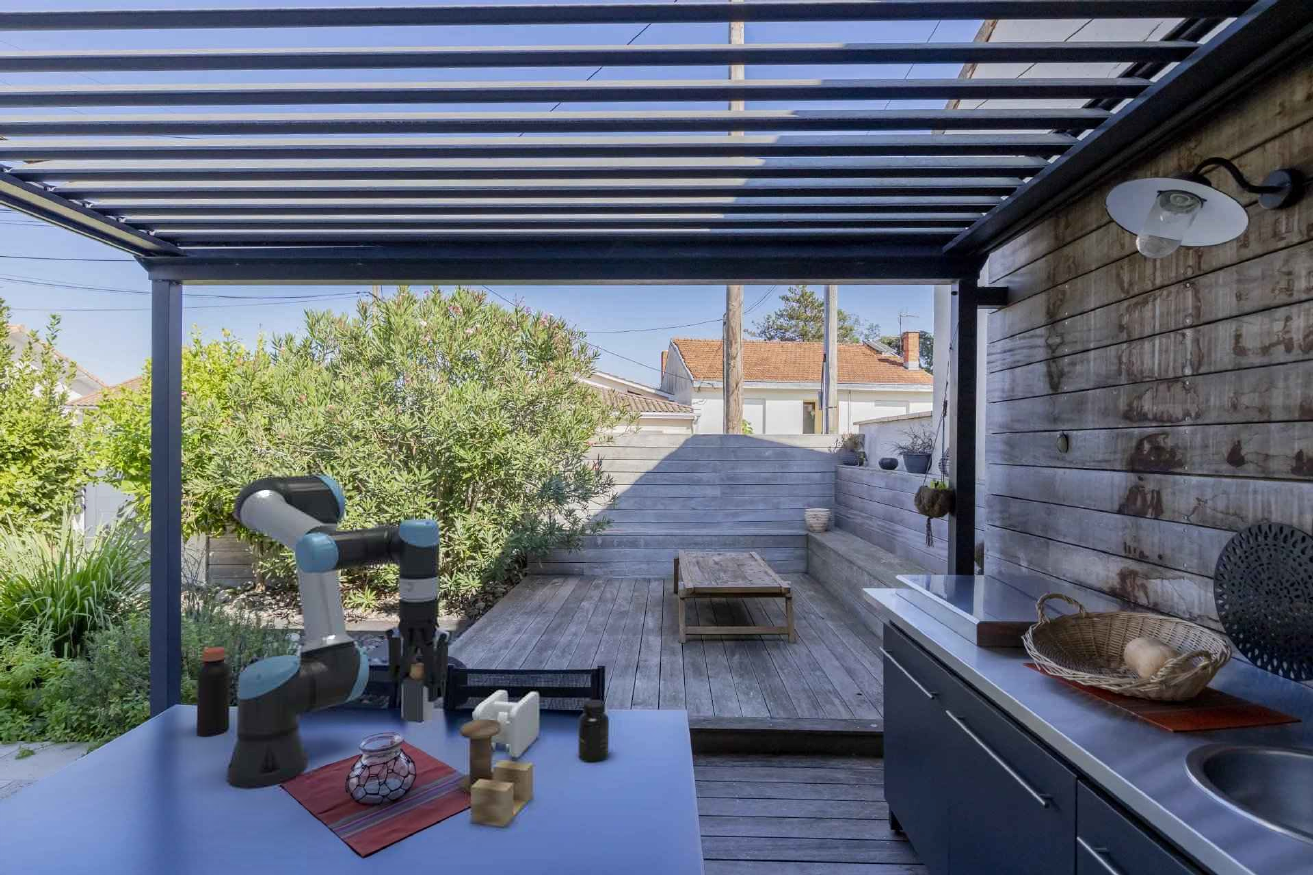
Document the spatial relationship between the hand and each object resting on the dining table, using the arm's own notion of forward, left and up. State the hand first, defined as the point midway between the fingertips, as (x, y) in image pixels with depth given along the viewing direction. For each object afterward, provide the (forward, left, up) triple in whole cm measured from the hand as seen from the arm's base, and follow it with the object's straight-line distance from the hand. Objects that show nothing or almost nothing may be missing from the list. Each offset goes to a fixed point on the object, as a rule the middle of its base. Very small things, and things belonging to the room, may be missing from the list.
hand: (417, 716), depth 142 cm
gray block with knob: (0, 0, 0) cm, 0 cm away
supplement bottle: (+27, +28, -17) cm, 42 cm away
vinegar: (-68, +18, -17) cm, 72 cm away
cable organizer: (+6, +27, -17) cm, 32 cm away
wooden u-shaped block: (+18, +1, -16) cm, 24 cm away
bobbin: (+9, +9, -16) cm, 21 cm away
